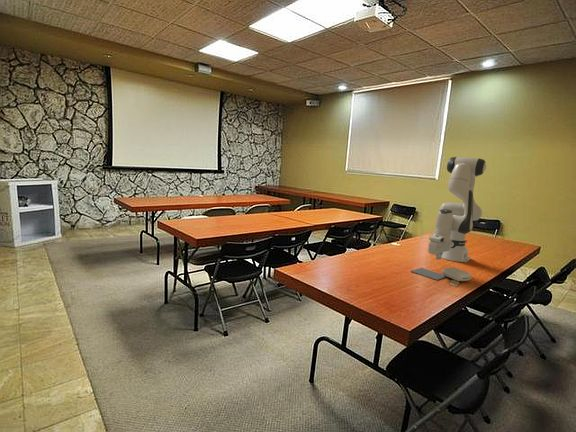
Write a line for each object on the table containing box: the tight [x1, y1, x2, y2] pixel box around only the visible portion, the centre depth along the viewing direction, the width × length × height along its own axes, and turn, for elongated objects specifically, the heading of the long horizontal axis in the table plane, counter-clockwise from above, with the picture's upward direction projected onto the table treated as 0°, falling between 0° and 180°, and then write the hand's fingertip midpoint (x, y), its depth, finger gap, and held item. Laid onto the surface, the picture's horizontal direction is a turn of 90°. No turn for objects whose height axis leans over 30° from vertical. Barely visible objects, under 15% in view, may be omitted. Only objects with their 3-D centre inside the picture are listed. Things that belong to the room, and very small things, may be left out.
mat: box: [410, 267, 448, 281], centre depth 189 cm, size 12×16×1 cm
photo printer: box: [441, 267, 472, 282], centre depth 183 cm, size 10×4×12 cm
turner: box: [449, 279, 460, 288], centre depth 179 cm, size 16×4×1 cm, turn 145°
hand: (438, 259), depth 194 cm, fingers closed
